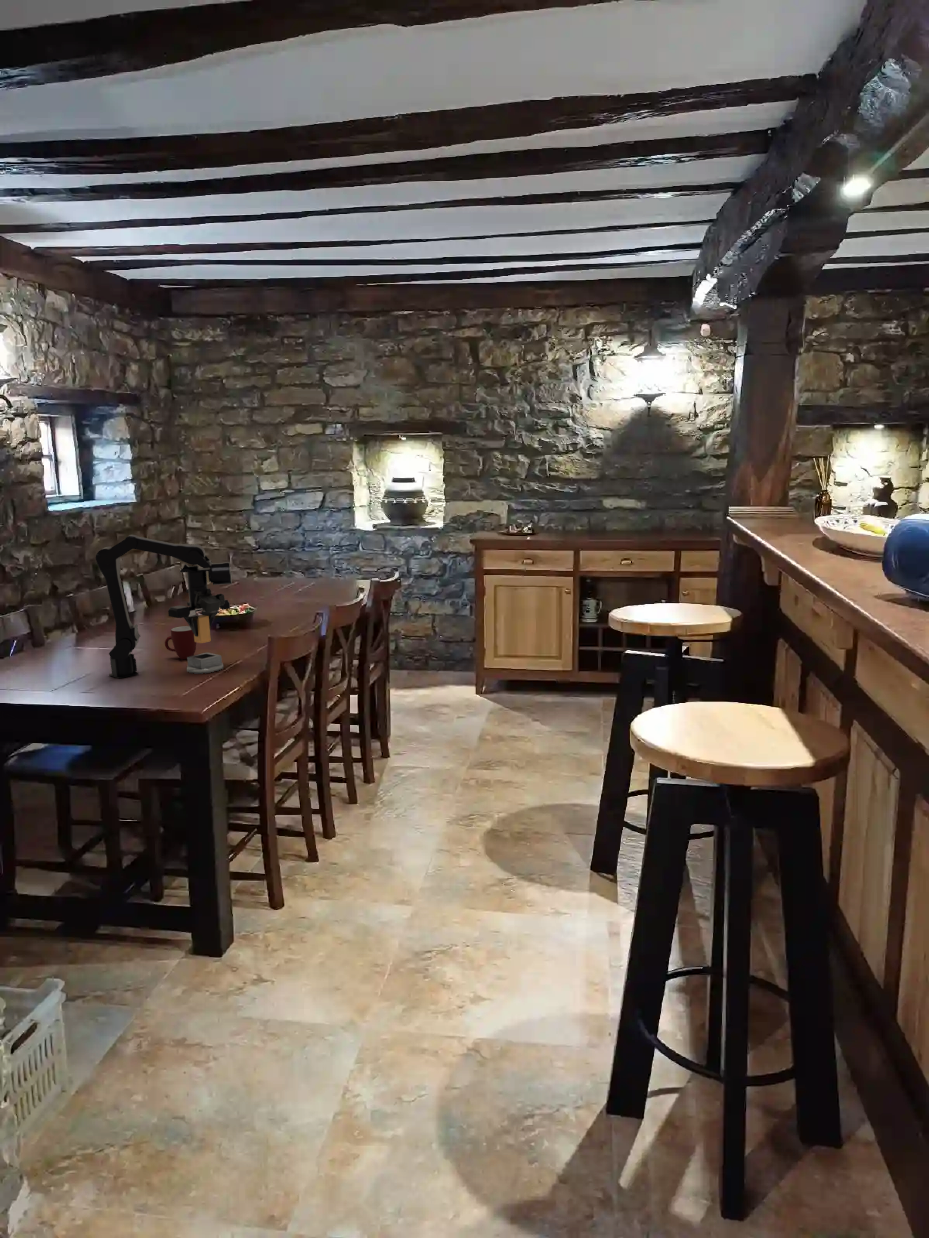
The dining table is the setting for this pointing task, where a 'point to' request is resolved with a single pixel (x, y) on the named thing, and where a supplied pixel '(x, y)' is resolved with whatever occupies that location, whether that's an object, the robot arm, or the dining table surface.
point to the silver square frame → (204, 663)
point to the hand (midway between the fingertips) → (202, 635)
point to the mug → (182, 641)
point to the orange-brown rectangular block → (203, 629)
